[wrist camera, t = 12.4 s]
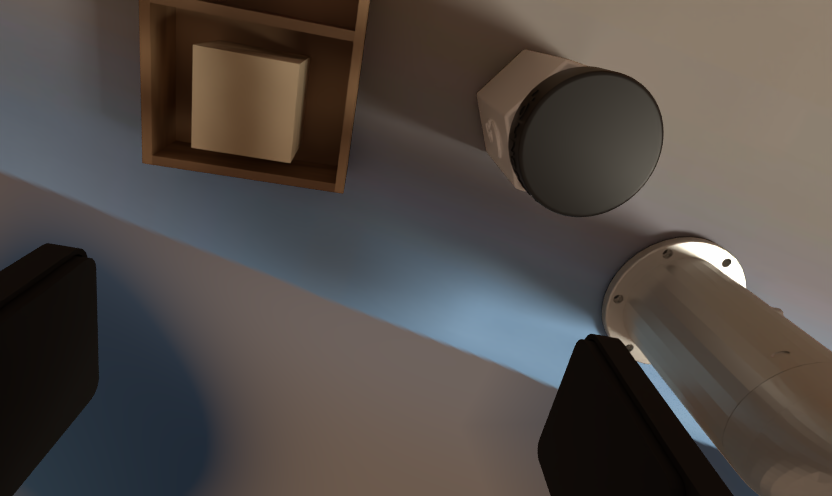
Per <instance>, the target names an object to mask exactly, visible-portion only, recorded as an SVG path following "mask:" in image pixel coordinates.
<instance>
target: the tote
mask: <svg viewBox="0 0 832 496" xmlns="http://www.w3.org/2000/svg"><path fill="white" fill-rule="evenodd" d="M369 6H370V0H139V29H140V74H141V120H142V163H145V164H151V165H158V166H165V167H171V168H178V169H184V170H191V171H198V172H204V173H211V174H217V175H224V176H230V177H237V178H244V179H250V180H257V181H263V182H270V183H277V184H283V185H290V186H296V187H303V188H309V189H316V190H323V191H329V192H336V193H342V194H343V192H344V186H345V180H346V175H347V168H348V160H349V153H350V146H351V138H352V131H353V124H354V116H355V109H356V102H357V94H358V87H359V80H360V72H361V65H362V58H363V50H364V43H365V36H366V28H367V21H368V14H369ZM217 40H225V41H230V42H236V43H241V44H246V45H252V46H257V47H262V48H268V49H273V50H279V51H284V52H289V53H295V54H300V55H305V56H311V59H310V69H309V79H308V89H307V99H306V109H305V119H304V130H303V140H302V143H301V145H300V147H299V149H298V150H297V152H296V154H295V156H294V158H293V159H292V161H291V163H286V162H279V161H273V160H267V159H260V158H254V157H248V156H241V155H235V154H229V153H222V152H216V151H210V150H203V149H197V148H191V136H192V72H193V45H194V44H200V43H205V42H211V41H217Z"/></svg>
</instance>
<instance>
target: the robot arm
mask: <svg viewBox="0 0 832 496" xmlns="http://www.w3.org/2000/svg"><path fill="white" fill-rule="evenodd" d="M602 321H603V325H604V329H605V331H606V333H607V335H608V336H602V335H596V334H590V335H588V336H587V337H586V338H585V340H583V339H580V340H579V341H578V342H577V343H576V345H575V347H574V350H573V353H572V355H571V358H570V360H569V363H568V366H567V368H566V371H565V374H564V376H563V379H562V381H561V384H560V387H559V389H558V392H557V395H556V397H555V400H554V402H553V405H552V408H551V410H550V413H549V416H548V419H547V421H546V423H545V426H544V429H543V431H542V434H541V437H540V440H539V443H538V458H539V462H540V465H541V468H542V471H543V474H544V477H545V480H546V483H547V486H548V489H549V492H550V495H551V496H733V494H732V493H731V492H730V490H729V489H728V487H727V486H726V485H725V483H724V482H723V481H722V479H721V478H720V476H719V475H718V473H717V472H716V471H715V469H714V468H713V467H712V465H711V464H710V462H709V461H708V460H707V458H706V457H705V456H704V454H703V453H702V451H701V450H700V449H699V447H698V446H697V444H696V443H695V442H694V440H693V439H692V438H691V436H690V435H689V433H688V432H687V431H686V429H685V428H684V426H683V425H682V424H681V422H680V421H679V420H678V418H677V417H676V415H675V414H674V413H673V411H672V410H671V408H670V407H669V406H668V404H667V403H666V402H665V400H664V399H663V397H662V396H661V395H660V393H659V392H658V391H657V389H656V388H655V386H654V385H653V384H652V382H651V381H650V379H649V378H648V377H647V375H646V374H645V373H644V371H643V370H642V368H641V367H640V366H639V364H638V363H637V362H641V363H644V364H651V365H652V366H653V367H654V369H655V370H656V371H657V372H658V374H659V375H660V376H661V377H662V379H663V380H664V381H665V382H666V384H667V385H668V386H669V388H670V389H671V390H672V391H673V393H674V394H675V395H676V396H677V398H678V399H679V400H680V402H681V403H682V404H683V405H684V407H685V408H686V409H687V410H688V412H689V413H690V414H691V415H692V417H693V418H694V419H695V421H696V422H697V423H698V424H699V426H700V427H701V428H702V429H703V431H704V432H705V433H706V435H707V436H708V437H709V438H710V440H711V441H712V442H713V443H714V445H715V446H716V447H717V448H718V450H719V451H720V452H721V454H722V455H723V456H724V457H725V459H726V460H727V461H728V462H729V464H730V465H731V466H732V467H733V468H734V470H735V471H736V472H737V474H738V475H739V476H740V477H741V478H742V479H743V481H745V483H746V484H747V485H748V486H749V487H750V488H751V489H753V490H754V491H755V492H756V493H757V494H758V495H760V496H832V352H831V351H830V350H829V349H827V348H826V347H825V346H823V345H822V344H821V343H819V342H818V341H817V340H815V339H814V338H812V337H811V336H810V335H808V334H807V333H806V332H804V331H803V330H802V329H800V328H799V327H798V326H796V325H795V324H794V323H792V322H791V321H790V320H788V319H787V318H785V317H784V315H783V312H782V310H781V309H779V308H774V307H771V306H769V305H768V304H767V303H765V302H764V301H763V300H761V299H760V298H758V297H757V296H756V295H754V294H753V293H752V292H750V291H749V290H748V289H746V280H745V275H744V272H743V269H742V267H741V265H740V264H739V262H738V261H737V259H736V258H735V257H734V256H733V255H732V254H731V253H729V252H728V251H727V250H726V249H724V248H723V247H721V246H719V245H718V244H716V243H714V242H711V241H709V240H706V239H701V238H695V237H680V238H674V239H669V240H664V241H662V242H659V243H657V244H654V245H651V246H650V247H648V248H646V249H644V250H643V251H641V252H639V253H638V254H636V255H635V256H634V257H633V258H631V259H630V260H629V261H628V262H626V263H625V265H624V266H623V267H622V268H621V269H620V270H619V271H618V272H617V273H616V275H615V277H614V278H613V280H612V281H611V283H610V284H609V287H608V289H607V291H606V294H605V296H604V301H603V305H602ZM98 380H99V366H98V325H97V286H96V264H95V261H94V260H93V259H92V258H87V255H86V252H85V251H84V250H83V249H79V248H73V247H67V246H62V245H55V244H49V243H47V244H44V245H42V246H40V247H39V248H37V249H35V250H34V251H32V252H31V253H29V254H27V255H26V256H24V257H22V258H21V259H20V260H18V261H16V262H14V263H13V264H11V265H10V266H8V267H6V268H5V269H3V270H2V271H0V496H13V495H14V493H15V492H16V491H17V490H18V489H19V487H20V486H21V485H22V484H23V482H24V481H25V480H26V479H27V477H28V476H29V475H30V474H31V472H32V471H33V470H34V469H35V468H36V466H37V465H38V464H39V463H40V462H41V460H42V459H43V458H44V457H45V455H46V454H47V453H48V452H49V450H50V449H51V448H52V447H53V446H54V444H55V443H56V442H57V441H58V439H59V438H60V437H61V436H62V435H63V433H64V432H65V431H66V429H67V428H68V427H69V426H70V425H71V423H72V422H73V421H74V420H75V419H76V417H77V416H78V415H79V414H80V412H81V411H82V410H83V409H84V408H85V406H86V405H87V404H88V403H89V401H90V400H91V399H92V397H93V396H94V394H95V392H96V389H97V386H98Z"/></svg>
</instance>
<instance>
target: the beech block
mask: <svg viewBox="0 0 832 496" xmlns="http://www.w3.org/2000/svg"><path fill="white" fill-rule="evenodd" d="M310 59H311V56H305V55H300V54H295V53H289V52H284V51H279V50H273V49H268V48H262V47H257V46H252V45H246V44H241V43H236V42H230V41H225V40H217V41H211V42H205V43H200V44H194V45H193V72H192V136H191V148H197V149H203V150H210V151H216V152H222V153H229V154H235V155H241V156H248V157H254V158H260V159H267V160H273V161H279V162H286V163H291V161H292V159H293V158H294V156H295V154H296V152H297V150H298V149H299V147H300V145H301V143H302V140H303V130H304V119H305V109H306V99H307V89H308V79H309V69H310Z"/></svg>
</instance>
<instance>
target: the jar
mask: <svg viewBox="0 0 832 496" xmlns="http://www.w3.org/2000/svg"><path fill="white" fill-rule="evenodd" d="M477 101H478V106H479V112H480V118H481V124H482V130H483V136H484V142H485V148H486V152H487V154H488V155H489V156H490V157H491V158H492V160H493V161H494V162H495V163H496V165H497V166H498V167H499V168H500V170H501V171H502V172H503V173H504V175H505V176H506V177H507V178H508V179H509V181H510V182H511V183H512V184H513V186H514V187H515V188H516V189H518V190H522V191H525V192H527V193H528V194H529V195H532V197H533V198H534V199H535V201H537V202H539V203H540V204H541V205H542V206H544V207H545V208H547V209H549V210H551V211H553V212H555V213H558V214H561V215H565V216H571V217H589V216H595V215H599V214H602V213H605V212H608V211H610V210H613V209H615V208H617V207H618V206H620V205H622V204H623V203H625V202H626V201H628V200H629V199H630V198H631V197H633V196H634V195H635V194H636V193H637V192H638V191H639V190H640V189H641V188H642V187H643V186H644V184H645V183H646V182H647V180H648V179H649V177H650V176H651V174H652V173H653V171H654V169H655V167H656V165H657V162H658V160H659V157H660V154H661V150H662V145H663V132H664V131H663V121H662V116H661V113H660V110H659V107H658V105H657V103H656V101H655V99H654V98H653V96H652V95H651V93H650V92H649V91H648V90H647V89H646V88H645V87H644V86H643V85H642V84H641V83H639V82H638V81H636V80H635V79H633V78H631V77H630V76H627V75H625V74H622V73H619V72H614V71H610V70H606V69H602V68H598V67H590V66H586V65H583V64H581V63H578V62H575V61H572V60H569V59H565V58H560V57H556V56H552V55H548V54H544V53H540V52H535V51H531V50H527V49H525V50H523V51H522V52H521V53H520V54H518V55H517V56H516V57H515V58H514V59H513V60H512V61H511V62H510V63H509V64H508V65H507V66H506V67H505V68H503V69H502V70H501V71H500V72H499V73H498V74H497V75H496V76H495V77H494V78H493V79H492V80H491V81H489V82H488V83H487V84H486V85H485V86H484V87H483V88H482V89H481V90H480V91H479V92H478V93H477Z"/></svg>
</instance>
